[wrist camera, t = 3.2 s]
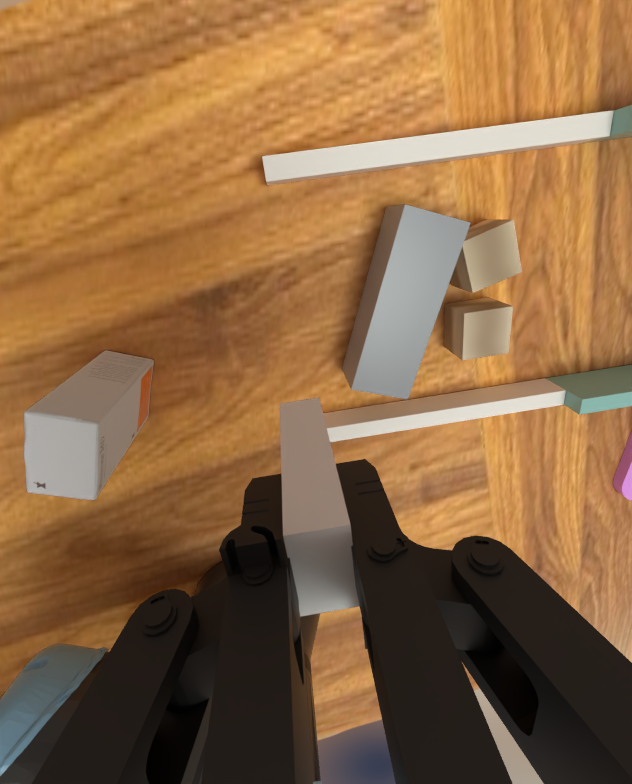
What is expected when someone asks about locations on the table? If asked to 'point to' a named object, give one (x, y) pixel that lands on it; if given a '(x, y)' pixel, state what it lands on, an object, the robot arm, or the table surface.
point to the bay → (611, 383)
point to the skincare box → (86, 426)
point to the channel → (421, 153)
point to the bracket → (625, 472)
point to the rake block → (402, 299)
